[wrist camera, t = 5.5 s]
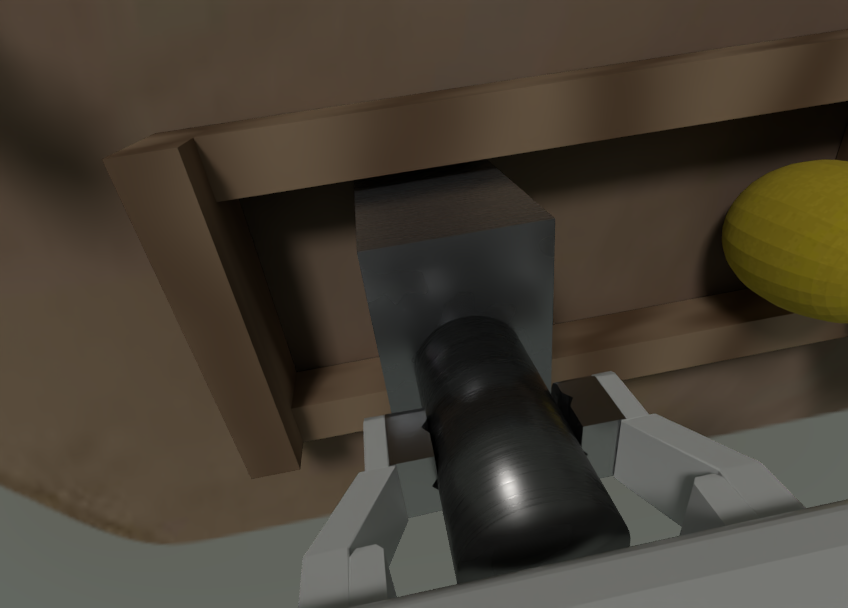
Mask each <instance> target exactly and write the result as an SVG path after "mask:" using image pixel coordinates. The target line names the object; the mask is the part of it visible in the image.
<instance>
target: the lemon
mask: <svg viewBox="0 0 848 608" xmlns="http://www.w3.org/2000/svg"><path fill="white" fill-rule="evenodd" d="M722 246H723V250H724V254H725V257H726V260H727V262H728V264H729V266H730V267H731V269H732V270H733V271H734V273H735V274H736V276H737V277H738V278H739V279H740V281H741V282H742V283H744V284H745V285H746V286H747V287H748V288H749V289H750V290H752V291H753V292H755V293H756V294H758V295H759V296H761V297H762V298H764V299H766V300H767V301H769V302H771V303H773V304H774V305H776V306H778V307H781V308H783V309H785V310H788V311H790V312H793V313H796V314H799V315H802V316H806V317H810V318H814V319H818V320H823V321H827V322H834V323H848V161H841V160H813V161H807V162H800V163H795V164H790V165H787V166H784V167H781V168H779V169H776V170H774V171H771V172H769V173H767V174H765V175H764V176H762V177H760V178H759V179H757V180H756V181H754V182H753V183H751V184H750V185H749V186H748V187H747V188H746V189H745V190H744V191H743V192H741V193H740V195H739V196H738V197H737V198H736V200H735V201H734V202H733V204H732V205H731V207H730V209H729V211H728V213H727V215H726V217H725V221H724V224H723V228H722Z"/></svg>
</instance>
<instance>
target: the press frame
mask: <svg viewBox="0 0 848 608" xmlns="http://www.w3.org/2000/svg"><path fill="white" fill-rule="evenodd" d="M842 101H848V29H846V30H839V31H832V32H826V33H819V34H812V35H806V36H799V37H792V38H786V39H779V40H772V41H766V42H759V43H753V44H746V45H739V46H733V47H726V48H719V49H713V50H706V51H699V52H693V53H686V54H679V55H673V56H666V57H660V58H653V59H646V60H640V61H633V62H626V63H620V64H613V65H606V66H600V67H593V68H586V69H580V70H573V71H566V72H560V73H553V74H547V75H540V76H533V77H527V78H520V79H513V80H507V81H500V82H493V83H487V84H480V85H473V86H467V87H460V88H453V89H447V90H440V91H434V92H427V93H420V94H414V95H407V96H400V97H394V98H387V99H380V100H374V101H367V102H360V103H354V104H347V105H340V106H334V107H327V108H321V109H314V110H307V111H301V112H294V113H287V114H281V115H274V116H267V117H261V118H254V119H247V120H241V121H234V122H228V123H221V124H214V125H208V126H201V127H194V128H188V129H181V130H174V131H168V132H161V133H155V134H153V135H151V136H149V137H147V138H144V139H142V140H140V141H138V142H136V143H134V144H132V145H130V146H128V147H126V148H124V149H122V150H120V151H118V152H116V153H114V154H112V155H109V156H107V157H105V158H103V159H102V161H103V163H104V165H105V167H106V169H107V172H108V174H109V176H110V178H111V180H112V182H113V184H114V187H115V189H116V191H117V193H118V195H119V197H120V199H121V201H122V204H123V206H124V208H125V210H126V212H127V214H128V216H129V219H130V221H131V223H132V225H133V227H134V229H135V231H136V233H137V236H138V238H139V240H140V242H141V244H142V246H143V248H144V251H145V253H146V255H147V257H148V259H149V261H150V263H151V265H152V268H153V270H154V272H155V274H156V276H157V278H158V280H159V283H160V285H161V287H162V289H163V291H164V293H165V295H166V297H167V300H168V302H169V304H170V306H171V308H172V310H173V312H174V315H175V317H176V319H177V321H178V323H179V325H180V327H181V330H182V332H183V334H184V336H185V338H186V340H187V342H188V344H189V347H190V349H191V351H192V353H193V355H194V357H195V359H196V362H197V364H198V366H199V368H200V370H201V372H202V374H203V376H204V379H205V381H206V383H207V385H208V387H209V389H210V391H211V394H212V396H213V398H214V400H215V402H216V404H217V406H218V408H219V411H220V413H221V415H222V417H223V419H224V421H225V423H226V426H227V428H228V430H229V432H230V434H231V436H232V438H233V440H234V443H235V445H236V447H237V449H238V451H239V453H240V455H241V458H242V460H243V462H244V464H245V466H246V468H247V470H248V472H249V475H250V477H251V479H254V478H259V477H264V476H269V475H275V474H280V473H285V472H290V471H295V470H300V466H301V457H302V448H303V442H307V441H313V440H318V439H323V438H328V437H333V436H338V435H343V434H349V433H354V432H359V431H363V422H364V418H369V417H375V416H381V415H385V414H390V413H391V409H390V404H389V400H388V395H387V390H386V386H385V381H384V376H383V372H382V367H381V362H380V358H379V357H376V358H371V359H365V360H360V361H354V362H349V363H344V364H338V365H333V366H327V367H322V368H317V369H311V370H306V371H300V372H296V369H295V366H294V363H293V360H292V357H291V354H290V351H289V348H288V345H287V342H286V339H285V336H284V333H283V330H282V327H281V324H280V321H279V318H278V315H277V312H276V309H275V306H274V303H273V300H272V297H271V294H270V291H269V288H268V285H267V282H266V279H265V276H264V273H263V270H262V267H261V264H260V261H259V258H258V255H257V252H256V249H255V246H254V243H253V240H252V237H251V234H250V231H249V228H248V225H247V222H246V219H245V216H244V213H243V210H242V207H241V204H240V201H239V198H245V197H251V196H258V195H264V194H270V193H276V192H283V191H289V190H295V189H301V188H307V187H314V186H320V185H326V184H332V183H339V182H345V181H351V180H357V179H363V178H370V177H376V176H382V175H388V174H395V173H401V172H407V171H413V170H419V169H426V168H432V167H438V166H444V165H450V164H457V163H463V162H469V161H475V160H482V159H488V158H494V157H500V156H506V155H513V154H519V153H525V152H531V151H538V150H544V149H550V148H556V147H562V146H569V145H575V144H581V143H587V142H594V141H600V140H606V139H612V138H618V137H625V136H631V135H637V134H643V133H650V132H656V131H662V130H668V129H674V128H681V127H687V126H693V125H699V124H706V123H712V122H718V121H724V120H730V119H737V118H743V117H749V116H755V115H762V114H768V113H774V112H780V111H786V110H793V109H799V108H805V107H811V106H818V105H824V104H830V103H836V102H842ZM836 160H841V161H848V124H847V127H846V130H845V133H844V136H843V139H842V142H841V145H840V148H839V151H838V154H837V157H836ZM847 336H848V323H834V322H827V321H823V320H818V319H814V318H810V317H806V316H802V315H799V314H796V313H793V312H790V311H788V310H785V309H783V308H781V307H778V306H776V305H774V304H773V303H771V302H769V301H767V300H766V299H764V298H762V297H761V296H759V295H758V294H756V293H755V292H753V291H752V290H750V289H743V290H738V291H732V292H727V293H722V294H716V295H711V296H705V297H700V298H695V299H689V300H684V301H678V302H673V303H668V304H662V305H657V306H651V307H646V308H641V309H635V310H630V311H624V312H619V313H614V314H608V315H603V316H597V317H592V318H587V319H581V320H576V321H570V322H565V323H560V324H554V325H553V329H552V370H551V387H552V384H553V383H555V382H559V381H564V380H569V379H574V378H579V377H584V376H589V375H590V376H591V375H593V374H598V373H603V372H608V371H612V372H614V373H616V375H617V376H618V377H619V378H620V379H621V380H626V379H631V378H636V377H641V376H646V375H652V374H657V373H662V372H667V371H672V370H677V369H682V368H688V367H693V366H698V365H703V364H708V363H713V362H718V361H723V360H729V359H734V358H739V357H744V356H749V355H754V354H759V353H765V352H770V351H775V350H780V349H785V348H790V347H795V346H801V345H806V344H811V343H816V342H821V341H826V340H831V339H836V338H842V337H847Z"/></svg>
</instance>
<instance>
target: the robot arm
mask: <svg viewBox="0 0 848 608" xmlns="http://www.w3.org/2000/svg"><path fill="white" fill-rule="evenodd" d="M551 395H552V397H553V398H554V400H555V402H556V404H557V405H558V407H559V409H560V411H561V412H562V414H563V416H564V418H565V419H566V421H567V423H568V425H569V426H570V428H571V430H572V431H573V433H574V435H575V437H576V438H577V440H578V442H579V444H580V445H581V447H582V449H583V451H584V452H585V454H586V456H587V458H588V459H589V461H590V463H591V465H592V466H593V468H594V470H595V472H596V473H597V475H598V477H599V478H604V477H609V476H614V478H615V479H617V480H618V481H619V482H621V483H622V484H624V485H625V486H626V487H628V488H629V489H630V490H632V491H633V492H635V493H636V494H637V495H639V496H640V497H642V498H643V499H644V500H645V501H647V502H648V503H650V504H651V505H653V506H654V507H655V508H657V509H658V510H659V511H661V512H662V513H664V514H665V515H666V516H668V517H669V518H670V519H672V520H673V521H675V522H676V523H677V524H679V525H680V526H682V529H681V533H680V536H677V537H672V538H668V539H663V540H659V541H655V542H650V543H645V544H640V545H636V546H631V547H627V548H622V549H618V550H613V551H608V552H604V553H599V554H595V555H590V556H585V557H581V558H576V559H571V560H567V561H562V562H558V563H553V564H548V565H544V566H539V567H534V568H530V569H525V570H521V571H516V572H511V573H507V574H502V575H497V576H493V577H488V578H484V579H479V580H474V581H470V582H465V583H461V584H456V585H451V586H447V587H442V588H438V589H433V590H429V591H424V592H419V593H415V594H410V595H406V596H401V597H397V596H396V592H395V589H394V585H393V582H392V578H391V574H390V571H389V565H390V563H391V561H392V558H393V556H394V553H395V551H396V549H397V546H398V544H399V542H400V539H401V537H402V534H403V532H404V530H405V527H406V525H407V522H408V518H411V517H415V516H420V515H424V514H428V513H432V512H437V511H441V510H442V505H441V500H440V495H439V490H438V485H437V480H436V479H437V478H438V475H437V469H436V463H435V457H434V452H433V447H432V442H431V437H430V433H429V429H428V423H427V418H426V413H425V408H420V409H414V410H408V411H402V412H396V413H390V414H385V415H381V416H375V417H369V418H364V422H363V432H364V458H365V471H364V472H360V473H358V475H357V476H356V478H355V479H354V481H353V482H352V484H351V485H350V487H349V488H348V490H347V491H346V493H345V495H344V496H343V498H342V499H341V501H340V502H339V504H338V505H337V507H336V508H335V510H334V511H333V513H332V514H331V516H330V517H329V519H328V520H327V522H326V523H325V525H324V527H323V528H322V529H321V531H320V532H319V534H318V536H317V537H316V538H315V540H314V542H313V543H312V544H311V546H310V548H309V549H308V550H307V552H306V554H305V555H304V557H303V562H302V572H301V584H300V594H299V605H298V608H848V499H847V500H843V501H838V502H833V503H829V504H824V505H820V506H815V507H810V508H805V507H804V506H803V505H802V503H801V502H800V501H799V500H798V499H797V498H795V496H794V495H793V494H792V493H791V492H790V491H789V490H788V489H787V488H786V487H785V486H784V485H783V484H782V483H781V482H780V481H779V480H778V479H777V478H776V477H775V476H774V475H773V474H772V473H771V472H770V471H769V470H768V469H767V468H766V467H765V466H764V465H763V464H762V463H761V462H759V461H757V460H755V459H753V458H751V457H749V456H746V455H744V454H742V453H740V452H738V451H735V450H733V449H731V448H729V447H727V446H725V445H723V444H720V443H718V442H716V441H714V440H712V439H709V438H707V437H705V436H703V435H701V434H699V433H696V432H694V431H692V430H690V429H688V428H686V427H683V426H681V425H679V424H677V423H675V422H672V421H670V420H668V419H666V418H664V417H662V416H659V415H657V414H650V415H649V414H648V412H647V411H646V410H645V409H644V408H643V406H642V405H641V404H640V403H639V401H638V400H637V399H636V398H635V397H634V395H633V394H632V393H631V392H630V390H629V389H628V388H627V387H626V386H625V384H624V383H623V382H622V381H621V379H620V378H619V377H618V376H617V375H616V373H614V372H612V371H608V372H603V373H598V374H593V375H591V376H590V375H589V376H584V377H579V378H574V379H569V380H564V381H559V382H555V383H553V384H552V387H551Z"/></svg>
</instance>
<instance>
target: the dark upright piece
mask: <svg viewBox="0 0 848 608" xmlns="http://www.w3.org/2000/svg"><path fill="white" fill-rule="evenodd" d="M354 196H355V218H356V241H357V255H358V259H359V264H360V269H361V273H362V278H363V283H364V287H365V292H366V297H367V301H368V306H369V311H370V315H371V320H372V325H373V329H374V334H375V339H376V344H377V348H378V353H379V358H380V362H381V367H382V372H383V376H384V381H385V386H386V390H387V395H388V400H389V404H390V409H391V413H396V412H402V411H408V410H414V409H420V408H425V413H426V418H427V423H428V429H429V433H430V437H431V442H432V447H433V452H434V457H435V463H436V469H437V475H438V478H437V479H436V480H437V485H438V490H439V495H440V500H441V505H442V510H443V515H444V520H445V525H446V530H447V535H448V540H449V545H450V550H451V555H452V559H453V565H454V570H455V574H456V579H457V584H461V583H465V582H470V581H474V580H479V579H484V578H488V577H493V576H497V575H502V574H507V573H511V572H516V571H521V570H525V569H530V568H534V567H539V566H544V565H548V564H553V563H558V562H562V561H567V560H571V559H576V558H581V557H585V556H590V555H595V554H599V553H604V552H608V551H613V550H618V549H622V548H627V547H629V546H630V534H629V530H628V528H627V526H626V524H625V522H624V520H623V519H622V517H621V515H620V513H619V512H618V510H617V508H616V506H615V505H614V503H613V501H612V499H611V498H610V496H609V494H608V492H607V491H606V489H605V487H604V485H603V484H602V482H601V480H600V478H599V477H598V475H597V473H596V472H595V470H594V468H593V466H592V465H591V463H590V461H589V459H588V458H587V456H586V454H585V452H584V451H583V449H582V447H581V445H580V444H579V442H578V440H577V438H576V437H575V435H574V433H573V431H572V430H571V428H570V426H569V425H568V423H567V421H566V419H565V418H564V416H563V414H562V412H561V411H560V409H559V407H558V405H557V404H556V402H555V400H554V398H553V397H552V395H551V370H552V329H553V287H554V245H555V218H554V217H553V216H552V215H551V214H549V213H548V212H547V211H546V210H545V209H544V208H542V207H541V206H540V205H539V204H538V203H537V202H535V201H534V200H533V199H532V198H531V197H530V196H529V195H527V194H526V193H525V192H524V191H523V190H522V189H520V188H519V187H518V186H517V185H516V184H515V183H513V182H512V181H511V180H510V179H509V178H508V177H506V176H505V175H504V174H503V173H502V172H501V171H499V170H498V169H497V168H496V167H495V166H494V165H492V164H491V163H490V162H489V161H488V160H487V159H482V160H475V161H469V162H463V163H457V164H450V165H444V166H438V167H432V168H426V169H419V170H413V171H407V172H401V173H395V174H388V175H382V176H376V177H370V178H363V179H357V180H354Z"/></svg>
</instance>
